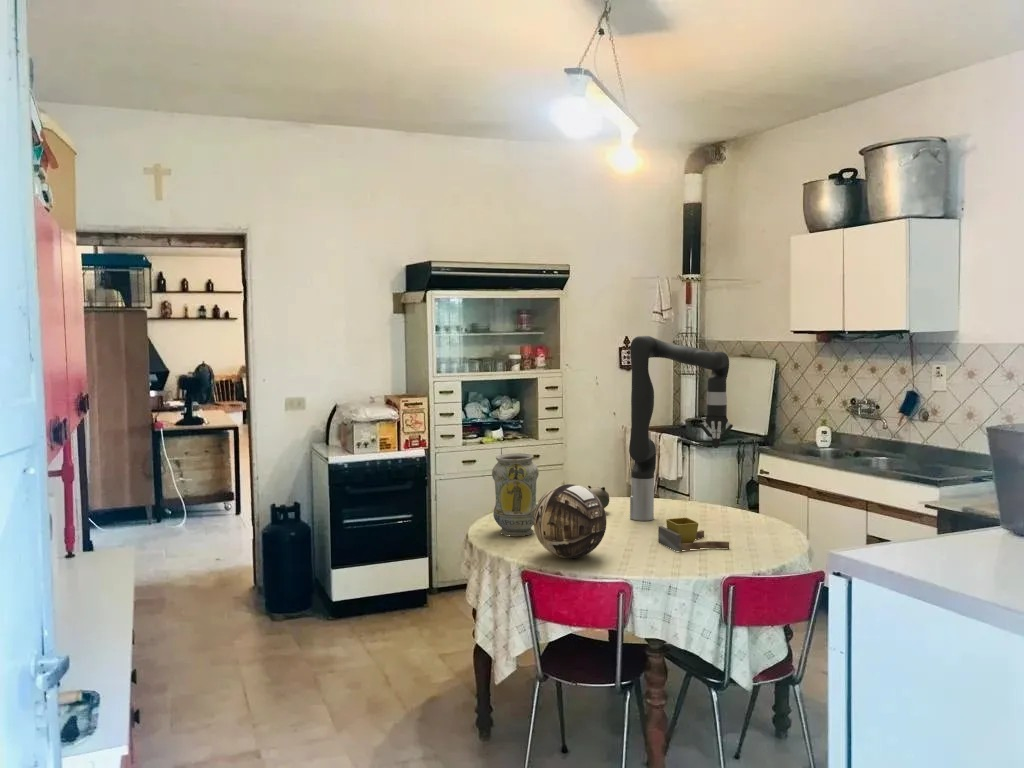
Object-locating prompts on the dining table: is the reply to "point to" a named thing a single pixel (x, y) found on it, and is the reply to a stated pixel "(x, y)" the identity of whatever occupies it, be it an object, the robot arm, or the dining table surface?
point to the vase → (515, 493)
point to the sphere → (569, 521)
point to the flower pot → (683, 528)
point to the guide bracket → (674, 542)
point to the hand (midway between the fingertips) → (716, 447)
